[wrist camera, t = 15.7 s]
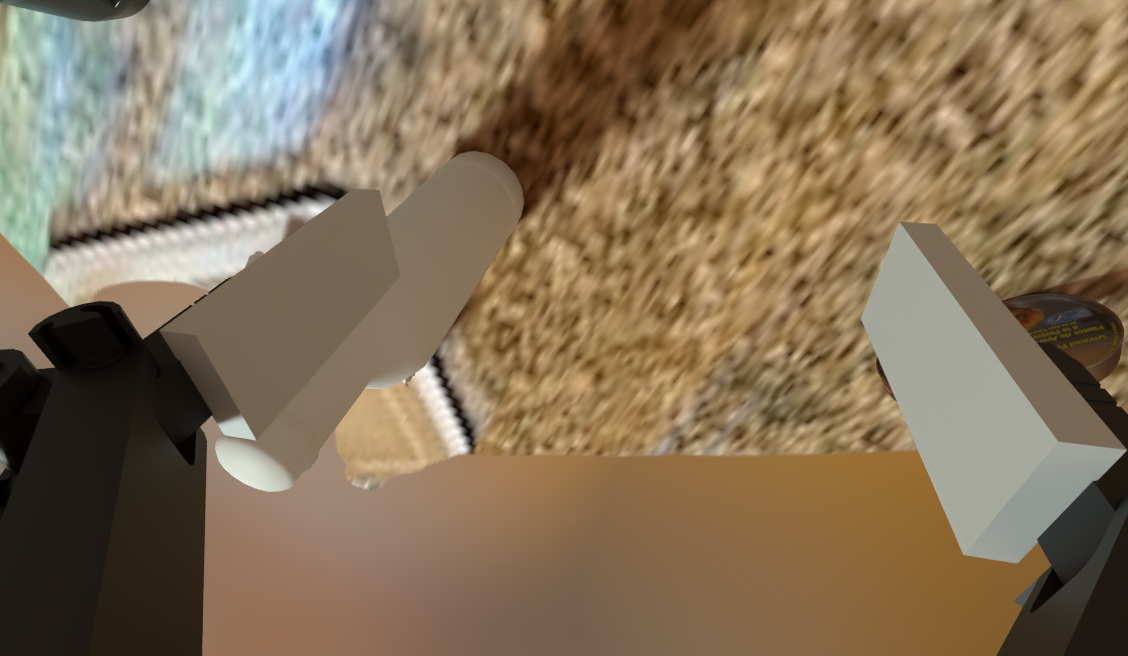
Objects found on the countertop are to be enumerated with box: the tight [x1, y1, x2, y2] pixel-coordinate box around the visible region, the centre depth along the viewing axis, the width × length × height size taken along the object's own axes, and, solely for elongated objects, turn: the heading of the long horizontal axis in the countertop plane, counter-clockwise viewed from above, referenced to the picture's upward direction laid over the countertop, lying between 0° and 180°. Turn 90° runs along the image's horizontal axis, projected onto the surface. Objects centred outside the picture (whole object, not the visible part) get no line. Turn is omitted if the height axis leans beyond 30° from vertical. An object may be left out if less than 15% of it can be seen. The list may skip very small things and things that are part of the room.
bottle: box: [215, 151, 524, 491], centre depth 33 cm, size 8×8×30 cm
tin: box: [876, 293, 1124, 402], centre depth 40 cm, size 15×3×8 cm, turn 121°
